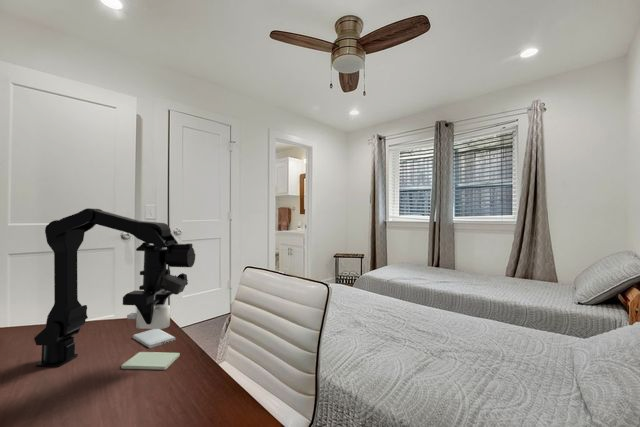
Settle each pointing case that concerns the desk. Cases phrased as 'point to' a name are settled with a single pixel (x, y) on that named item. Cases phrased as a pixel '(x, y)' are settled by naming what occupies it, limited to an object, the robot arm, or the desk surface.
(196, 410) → the desk surface
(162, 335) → the hard drive
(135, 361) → the sage mat
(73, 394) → the desk surface
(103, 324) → the desk surface
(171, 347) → the desk surface
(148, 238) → the robot arm
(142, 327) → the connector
